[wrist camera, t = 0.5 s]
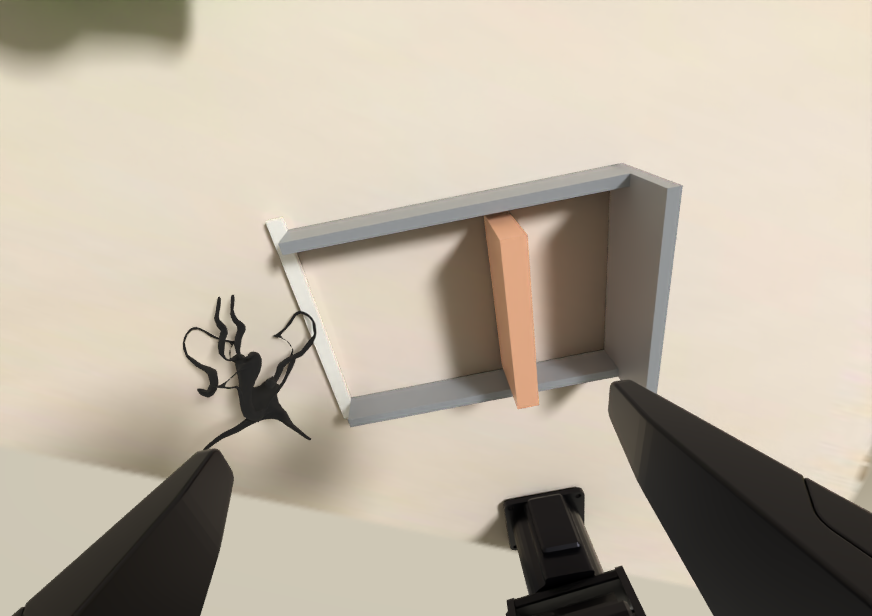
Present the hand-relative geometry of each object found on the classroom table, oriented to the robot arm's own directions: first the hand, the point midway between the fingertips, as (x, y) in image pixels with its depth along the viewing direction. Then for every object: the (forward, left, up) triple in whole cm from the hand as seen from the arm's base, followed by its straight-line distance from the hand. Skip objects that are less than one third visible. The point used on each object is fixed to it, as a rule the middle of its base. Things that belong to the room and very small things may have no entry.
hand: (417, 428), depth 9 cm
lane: (-5, -2, -14) cm, 15 cm away
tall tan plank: (-5, -5, -14) cm, 15 cm away
